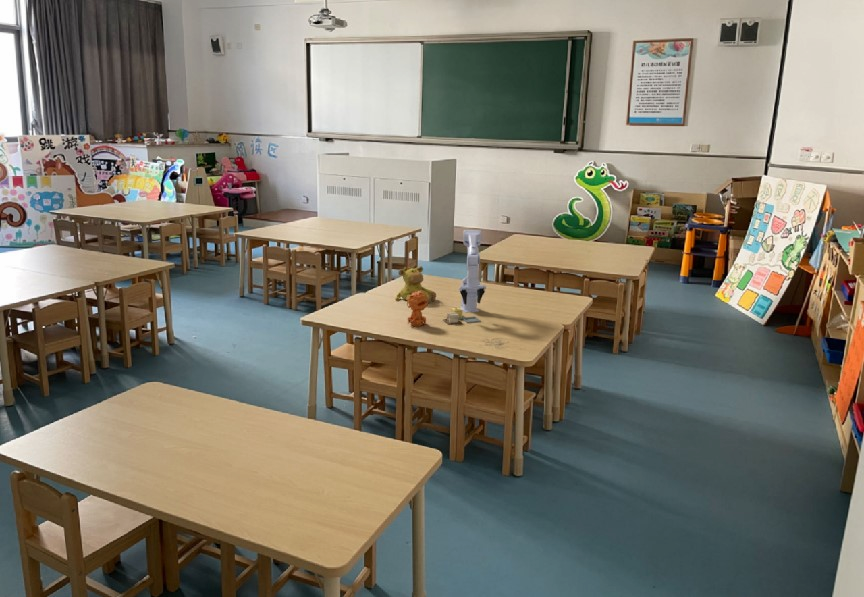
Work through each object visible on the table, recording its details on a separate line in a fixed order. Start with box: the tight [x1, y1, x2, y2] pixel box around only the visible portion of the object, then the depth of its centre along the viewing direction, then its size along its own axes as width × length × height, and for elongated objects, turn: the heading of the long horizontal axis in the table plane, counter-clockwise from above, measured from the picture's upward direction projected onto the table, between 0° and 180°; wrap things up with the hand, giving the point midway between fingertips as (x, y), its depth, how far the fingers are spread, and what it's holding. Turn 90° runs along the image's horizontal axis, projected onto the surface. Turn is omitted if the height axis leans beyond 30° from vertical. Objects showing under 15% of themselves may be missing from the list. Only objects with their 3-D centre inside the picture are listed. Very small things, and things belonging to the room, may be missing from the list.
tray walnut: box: [442, 318, 463, 326], centre depth 344 cm, size 8×8×1 cm
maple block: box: [446, 311, 459, 323], centre depth 344 cm, size 4×4×4 cm
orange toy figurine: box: [406, 290, 430, 327], centre depth 337 cm, size 11×11×18 cm
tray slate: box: [461, 316, 482, 324], centre depth 348 cm, size 8×8×1 cm
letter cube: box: [450, 307, 463, 318], centre depth 352 cm, size 4×4×5 cm
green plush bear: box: [395, 265, 437, 304], centre depth 383 cm, size 20×24×19 cm
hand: (471, 303), depth 346 cm, fingers open, 7 cm apart
